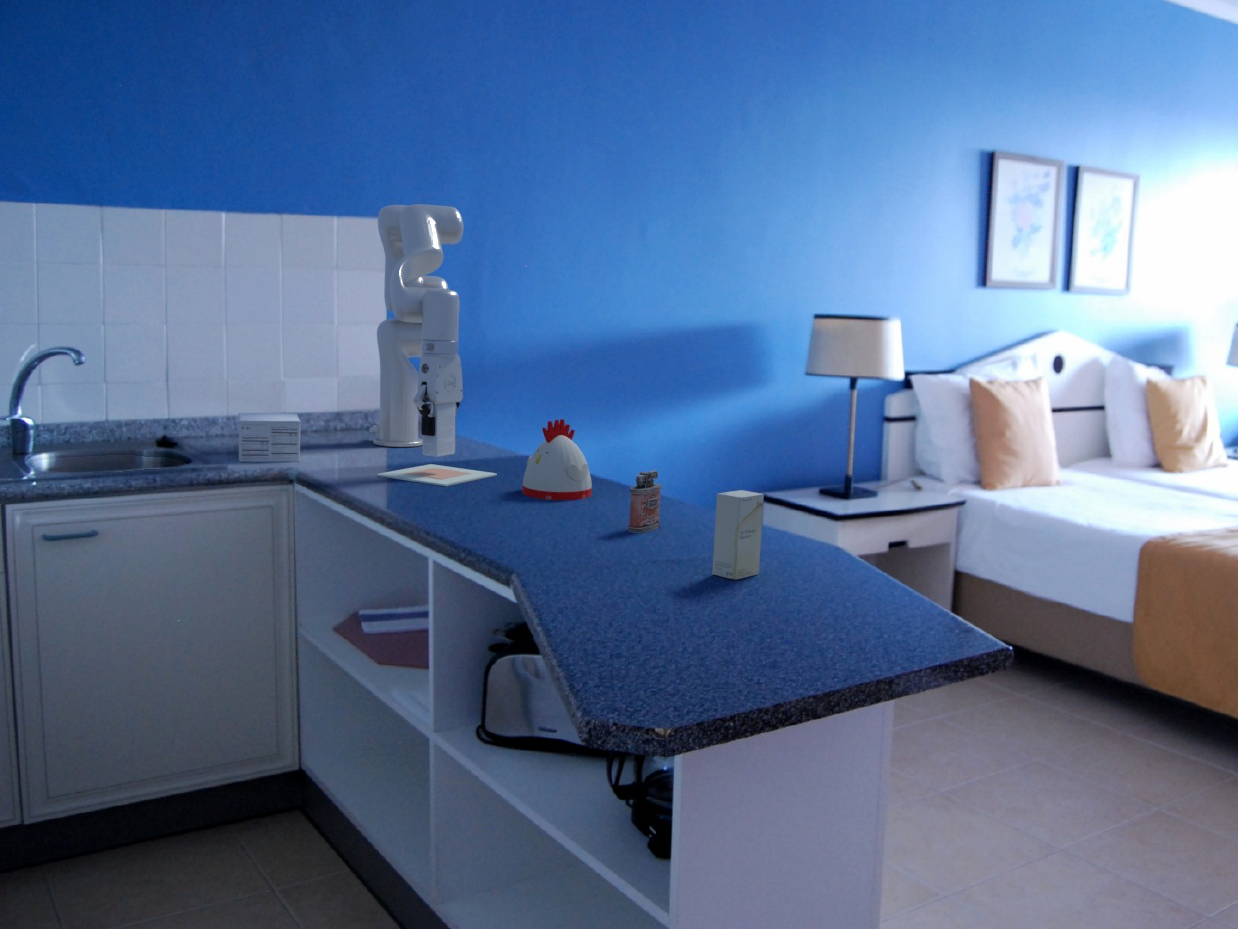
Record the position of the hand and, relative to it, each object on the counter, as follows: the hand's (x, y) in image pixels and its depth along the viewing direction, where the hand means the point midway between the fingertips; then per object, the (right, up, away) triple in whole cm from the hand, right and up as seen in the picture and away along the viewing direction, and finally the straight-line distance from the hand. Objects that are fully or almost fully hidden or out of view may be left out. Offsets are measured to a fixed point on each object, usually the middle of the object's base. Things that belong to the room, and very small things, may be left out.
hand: (438, 433), depth 227 cm
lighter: (+43, -18, -42) cm, 62 cm away
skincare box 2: (+55, -23, -70) cm, 92 cm away
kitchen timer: (+26, -13, -13) cm, 31 cm away
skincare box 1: (0, -5, +1) cm, 5 cm away
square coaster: (0, -9, +1) cm, 9 cm away
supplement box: (-42, -5, +17) cm, 45 cm away
